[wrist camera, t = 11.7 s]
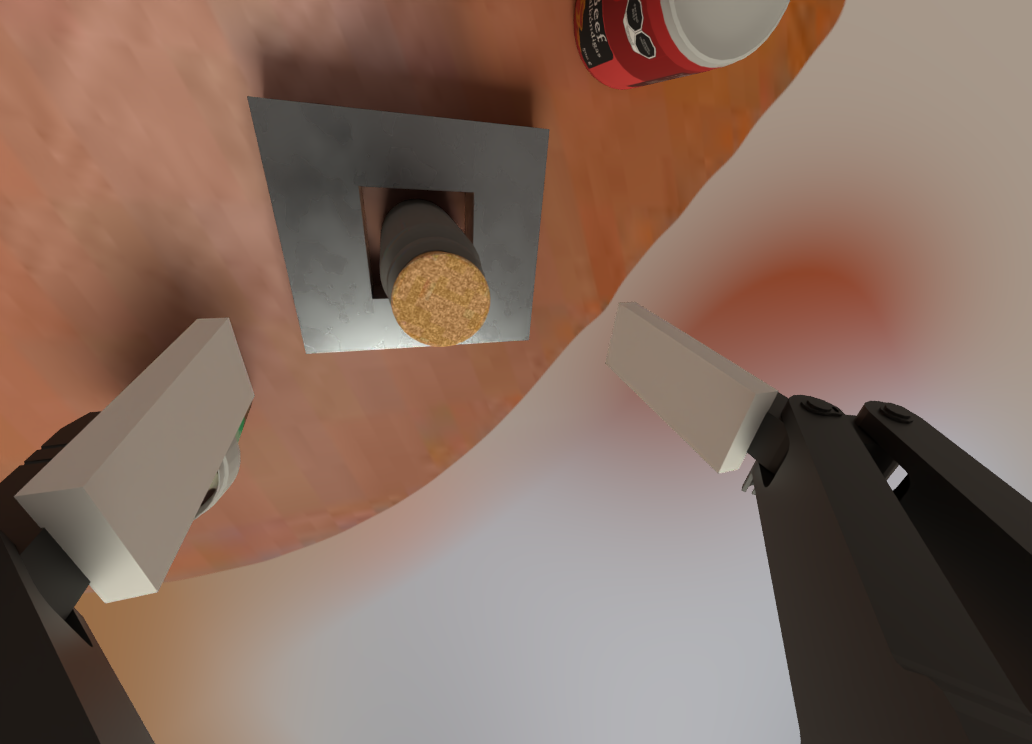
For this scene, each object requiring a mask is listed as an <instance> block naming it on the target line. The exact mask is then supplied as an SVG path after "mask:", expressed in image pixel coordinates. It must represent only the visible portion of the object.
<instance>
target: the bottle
mask: <svg viewBox="0 0 1032 744" xmlns="http://www.w3.org/2000/svg"><path fill="white" fill-rule="evenodd" d="M380 277H381V282H382V286H383V288H384V291H385V293H386V295H387V297H388V299H389V302H390V304H391V307H392V311H393V314H394V317H395V319H396V321H397V323H398V324H399V326H400V327H401V328H402V329H403V331H404V332H405V333H406V334H408V335H409V336H410V337H411V338H413V339H414V340H416V341H418V342H420V343H423V344H426V345H430V346H437V347H443V346H451V345H456V344H458V343H461V342H463V341H465V340H467V339H468V338H470V337H471V336H473V335H474V334H475V333H476V332H477V331H478V330H479V329H480V328H481V326H482V325H483V324H484V322H485V320H486V318H487V315H488V312H489V308H490V290H489V286H488V284H487V281H486V279H485V275H484V272H483V270H482V266H481V262H480V258H479V255H478V253H477V251H476V249H475V247H474V246H473V244H472V243H471V241H470V240H469V239H468V237H467V236H466V235H465V234H464V233H463V232H462V230H461V229H460V228H459V227H458V226H457V225H456V223H455V222H454V221H453V220H452V219H451V218H450V217H449V215H448V214H447V213H446V212H445V211H443V210H442V209H441V208H440V207H439V206H437V205H436V204H434V203H432V202H429V201H426V200H421V199H410V200H406V201H403V202H401V203H399V204H397V205H396V206H394V207H393V208H392V209H391V210H390V211H389V213H388V214H387V215H386V217H385V220H384V222H383V225H382V230H381V243H380Z"/></svg>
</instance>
